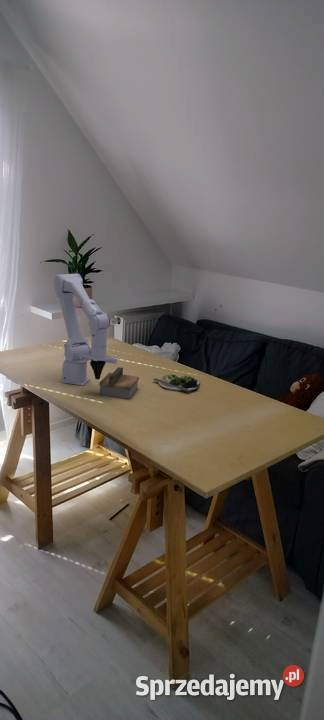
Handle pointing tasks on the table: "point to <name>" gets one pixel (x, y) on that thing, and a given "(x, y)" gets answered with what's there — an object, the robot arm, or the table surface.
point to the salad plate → (179, 383)
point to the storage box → (118, 391)
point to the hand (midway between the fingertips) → (97, 378)
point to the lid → (119, 380)
